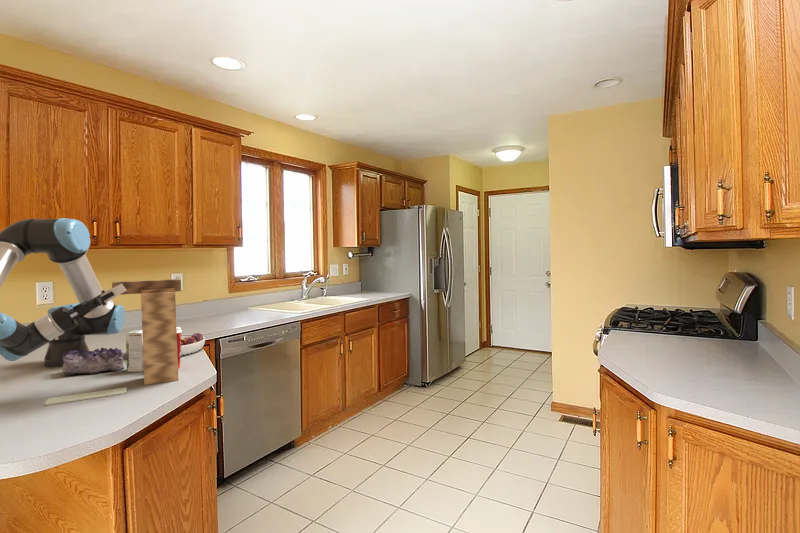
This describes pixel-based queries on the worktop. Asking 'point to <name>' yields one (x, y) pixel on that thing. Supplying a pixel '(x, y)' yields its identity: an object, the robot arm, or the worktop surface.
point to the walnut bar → (148, 285)
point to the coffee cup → (178, 344)
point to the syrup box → (134, 351)
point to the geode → (92, 361)
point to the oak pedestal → (159, 335)
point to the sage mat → (85, 396)
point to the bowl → (191, 343)
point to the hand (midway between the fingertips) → (125, 285)
